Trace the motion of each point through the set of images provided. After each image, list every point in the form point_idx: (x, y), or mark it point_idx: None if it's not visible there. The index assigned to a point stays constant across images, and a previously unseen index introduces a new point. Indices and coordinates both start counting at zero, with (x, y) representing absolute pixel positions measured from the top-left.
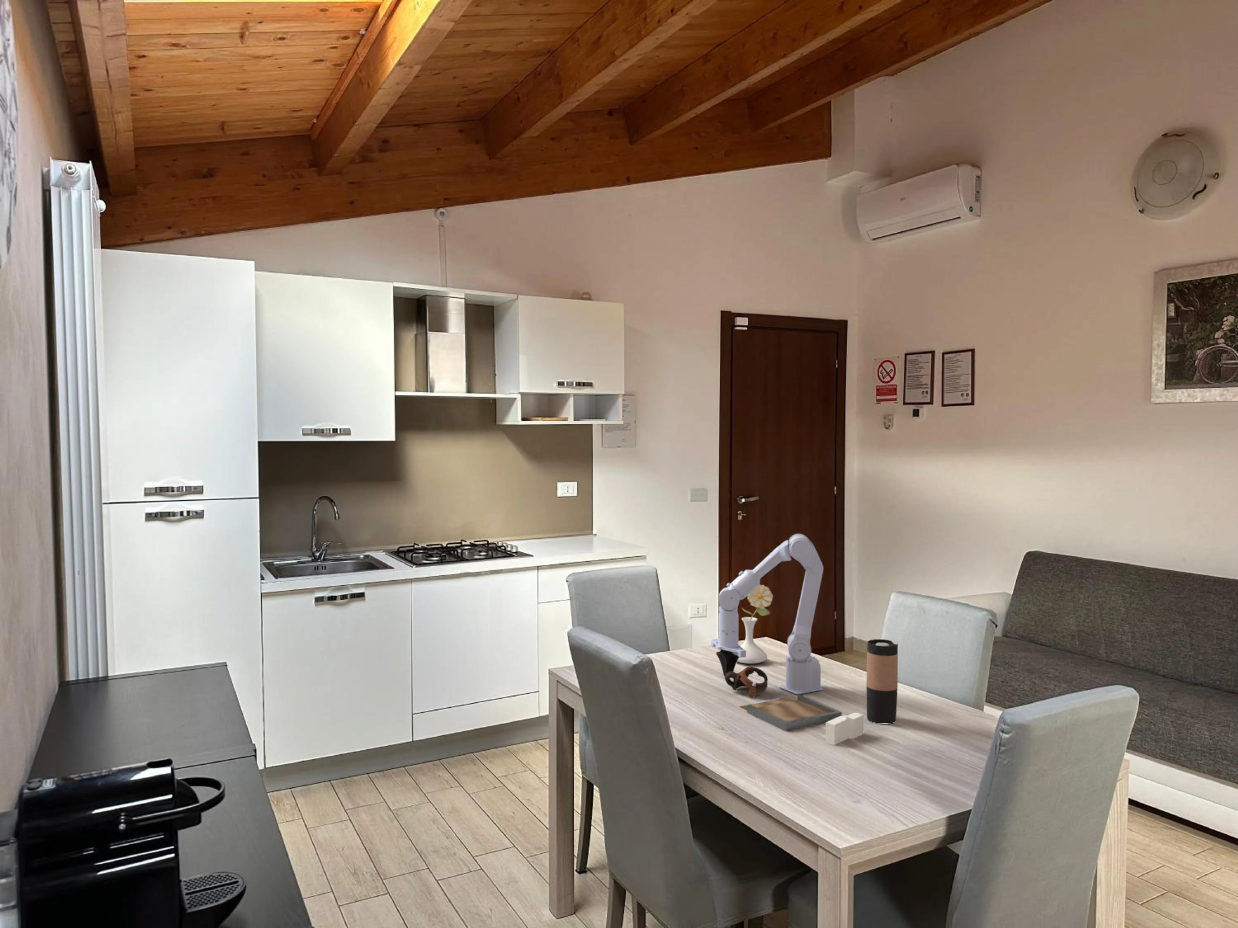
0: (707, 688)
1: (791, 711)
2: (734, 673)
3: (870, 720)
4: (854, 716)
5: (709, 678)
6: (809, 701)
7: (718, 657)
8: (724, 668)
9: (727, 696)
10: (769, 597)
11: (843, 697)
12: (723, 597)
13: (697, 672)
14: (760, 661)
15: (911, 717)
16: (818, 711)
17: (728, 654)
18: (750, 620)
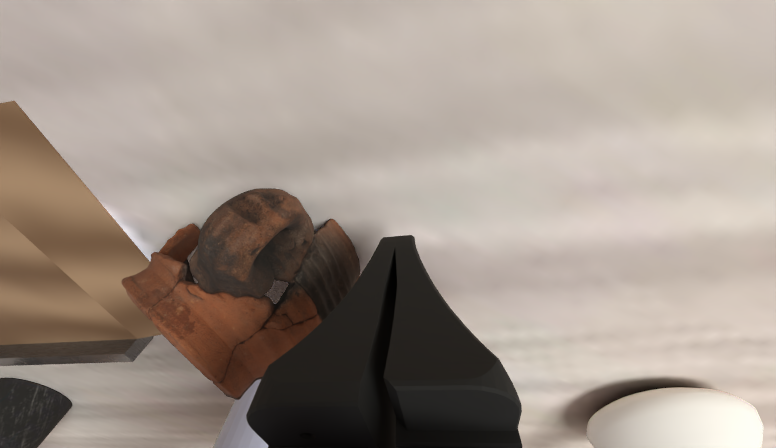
0: (410, 77)
1: None
2: (212, 271)
3: (4, 380)
4: None
5: (593, 193)
6: (70, 351)
7: (461, 332)
8: (382, 271)
9: (215, 128)
10: None
11: (209, 411)
12: None
13: (762, 183)
14: (588, 424)
15: (74, 425)
16: (10, 331)
17: (279, 434)
18: None
